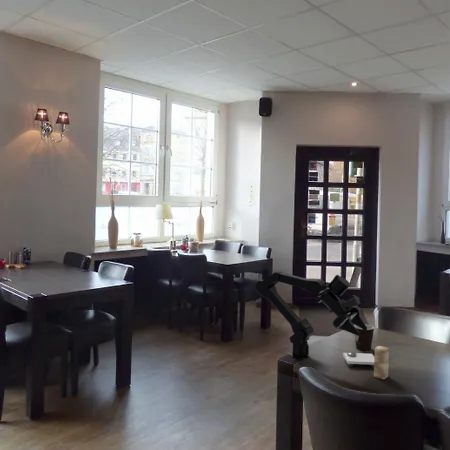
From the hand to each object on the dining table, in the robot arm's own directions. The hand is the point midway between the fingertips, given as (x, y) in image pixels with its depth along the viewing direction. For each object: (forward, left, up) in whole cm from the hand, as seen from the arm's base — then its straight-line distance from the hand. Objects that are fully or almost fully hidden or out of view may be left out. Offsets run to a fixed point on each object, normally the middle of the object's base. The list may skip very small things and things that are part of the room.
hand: (363, 332), depth 179 cm
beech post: (+6, -7, -15) cm, 17 cm away
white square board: (+1, +6, -15) cm, 16 cm away
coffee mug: (+7, +27, -15) cm, 32 cm away
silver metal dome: (-2, +8, -12) cm, 15 cm away
